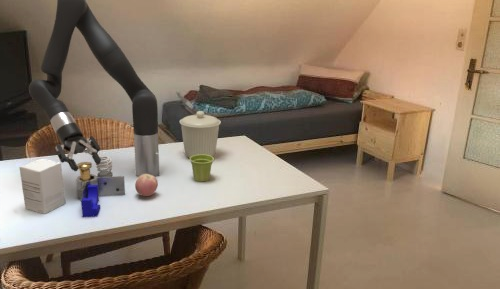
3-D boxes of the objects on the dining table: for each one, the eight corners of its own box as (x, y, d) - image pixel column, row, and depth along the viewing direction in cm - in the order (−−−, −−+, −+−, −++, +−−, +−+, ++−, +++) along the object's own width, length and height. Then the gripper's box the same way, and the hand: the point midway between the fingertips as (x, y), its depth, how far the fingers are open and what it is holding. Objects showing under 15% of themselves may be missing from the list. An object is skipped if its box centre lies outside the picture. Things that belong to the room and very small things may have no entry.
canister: (204, 147, 207) (204, 104, 201) (228, 157, 195) (229, 112, 188) (172, 154, 196) (171, 109, 189) (195, 166, 183) (195, 118, 177)
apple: (146, 202, 149) (145, 181, 147) (130, 196, 153) (129, 175, 150) (162, 194, 156) (161, 174, 153) (147, 189, 159) (146, 169, 157)
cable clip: (97, 217, 138) (96, 200, 136) (82, 217, 138) (81, 200, 136) (103, 200, 150) (102, 184, 148) (89, 201, 149) (88, 185, 147)
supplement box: (46, 198, 149) (41, 157, 145) (66, 203, 146) (62, 162, 141) (24, 208, 141) (18, 166, 137) (44, 214, 138) (39, 171, 133)
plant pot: (217, 177, 173) (218, 157, 170) (205, 185, 165) (206, 164, 162) (197, 172, 177) (197, 152, 174) (185, 180, 169) (184, 159, 166)
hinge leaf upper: (125, 190, 158) (124, 172, 156) (124, 198, 151) (123, 180, 149) (79, 192, 154) (78, 174, 152) (76, 200, 148) (75, 182, 146)
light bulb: (116, 184, 162) (115, 154, 158) (107, 190, 157) (105, 159, 153) (104, 182, 164) (102, 152, 160) (94, 187, 159) (92, 157, 155)
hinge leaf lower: (99, 191, 156) (98, 173, 154) (94, 211, 141) (92, 192, 139) (79, 192, 154) (78, 174, 152) (72, 213, 140) (70, 193, 138)
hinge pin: (94, 192, 155) (92, 161, 151) (92, 198, 150) (90, 166, 147) (81, 193, 154) (78, 162, 150) (79, 199, 149) (76, 166, 146)
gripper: (50, 126, 143) (72, 167, 140) (88, 118, 154) (110, 156, 151) (43, 138, 147) (65, 177, 145) (80, 129, 158) (101, 166, 155)
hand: (88, 166), depth 148 cm, fingers open, 8 cm apart
